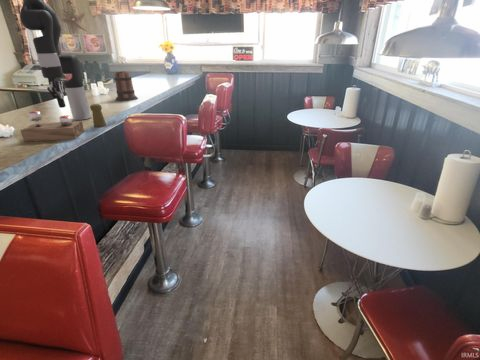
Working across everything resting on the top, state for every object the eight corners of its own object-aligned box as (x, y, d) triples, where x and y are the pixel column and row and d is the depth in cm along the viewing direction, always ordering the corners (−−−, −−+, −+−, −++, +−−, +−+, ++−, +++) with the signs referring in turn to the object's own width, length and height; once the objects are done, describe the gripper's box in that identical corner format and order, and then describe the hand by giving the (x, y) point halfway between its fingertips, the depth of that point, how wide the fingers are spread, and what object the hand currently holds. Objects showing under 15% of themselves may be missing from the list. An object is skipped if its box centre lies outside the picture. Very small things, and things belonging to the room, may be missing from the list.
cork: (101, 127, 143) (96, 105, 138) (91, 126, 144) (85, 105, 139) (108, 124, 148) (104, 103, 144) (98, 124, 149) (93, 102, 145)
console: (37, 133, 134) (34, 123, 132) (84, 131, 137) (81, 121, 135) (24, 141, 123) (20, 130, 121) (75, 138, 126) (72, 127, 124)
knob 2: (65, 129, 131) (61, 115, 129) (75, 129, 132) (71, 115, 129) (61, 132, 128) (57, 117, 125) (72, 131, 128) (67, 117, 125)
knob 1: (35, 125, 129) (30, 111, 126) (46, 125, 129) (41, 110, 126) (30, 128, 125) (25, 113, 122) (41, 127, 125) (36, 112, 122)
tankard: (135, 100, 212) (130, 72, 203) (112, 101, 210) (106, 73, 202) (142, 95, 233) (137, 69, 224) (121, 96, 232) (116, 70, 223)
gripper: (47, 64, 123) (59, 104, 131) (32, 66, 111) (46, 110, 119) (66, 63, 124) (76, 103, 132) (53, 66, 112) (66, 110, 120)
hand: (62, 107), depth 125 cm, fingers closed
